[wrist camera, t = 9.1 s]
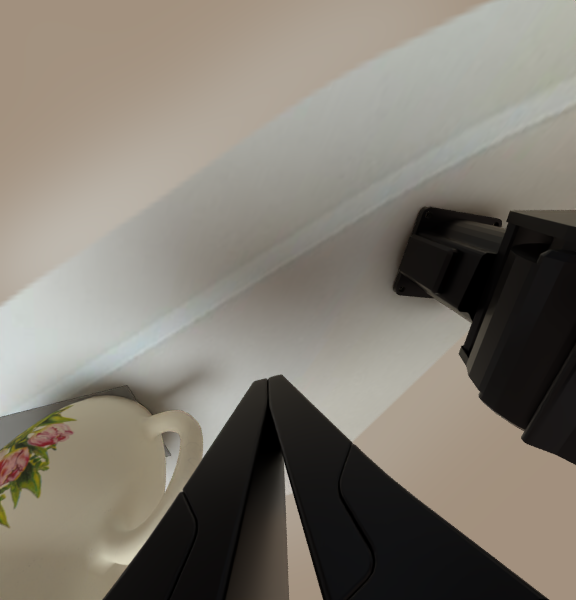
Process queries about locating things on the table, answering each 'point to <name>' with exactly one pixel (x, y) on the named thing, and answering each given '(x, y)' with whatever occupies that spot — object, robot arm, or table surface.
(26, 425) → the slate pad
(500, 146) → the table surface
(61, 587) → the pitcher
